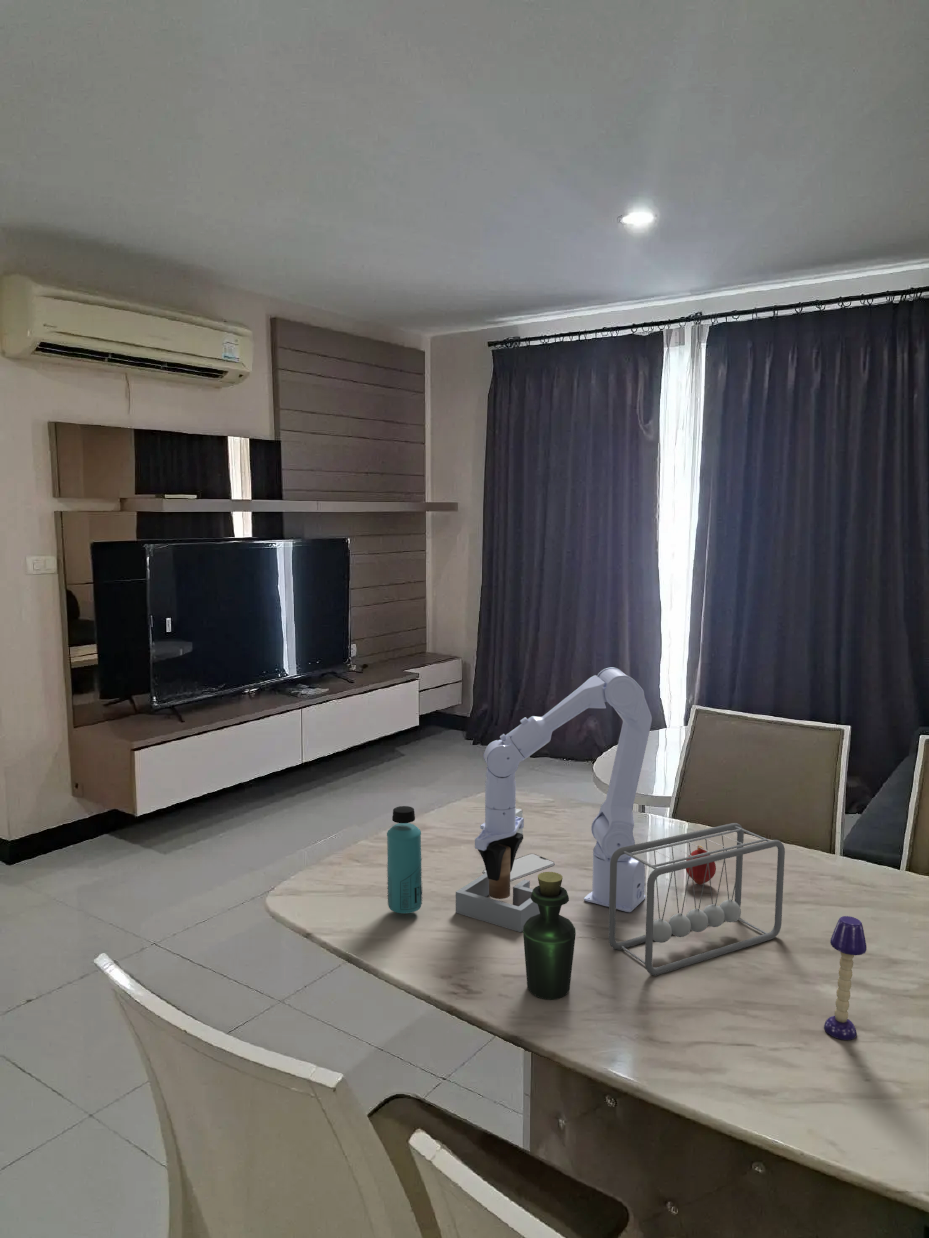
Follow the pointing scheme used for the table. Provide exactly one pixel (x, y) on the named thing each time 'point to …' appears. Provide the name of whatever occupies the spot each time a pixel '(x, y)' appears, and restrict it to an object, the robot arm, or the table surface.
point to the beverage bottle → (404, 862)
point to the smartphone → (528, 865)
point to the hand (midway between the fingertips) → (499, 874)
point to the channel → (496, 904)
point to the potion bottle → (549, 940)
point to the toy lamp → (845, 974)
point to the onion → (701, 868)
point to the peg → (502, 878)
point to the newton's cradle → (695, 917)
